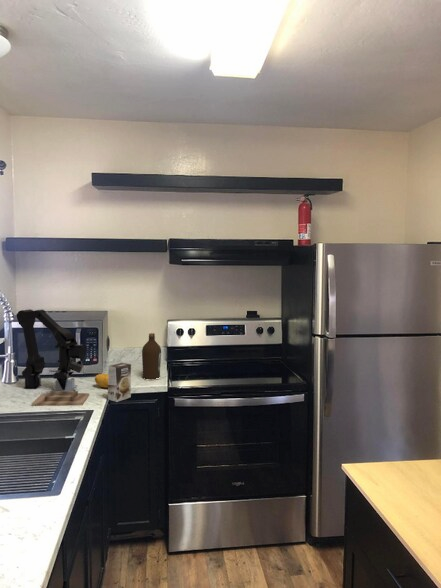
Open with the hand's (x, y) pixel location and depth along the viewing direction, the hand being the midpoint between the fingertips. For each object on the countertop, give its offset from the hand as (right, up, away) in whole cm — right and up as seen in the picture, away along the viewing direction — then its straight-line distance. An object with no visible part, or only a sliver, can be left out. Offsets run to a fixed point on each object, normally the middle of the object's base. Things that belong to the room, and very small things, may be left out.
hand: (65, 388), depth 215 cm
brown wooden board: (+3, -3, -14) cm, 14 cm away
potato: (+19, -2, +8) cm, 21 cm away
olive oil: (+38, -1, +28) cm, 48 cm away
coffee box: (+29, -3, -9) cm, 31 cm away
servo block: (0, -2, 0) cm, 2 cm away
